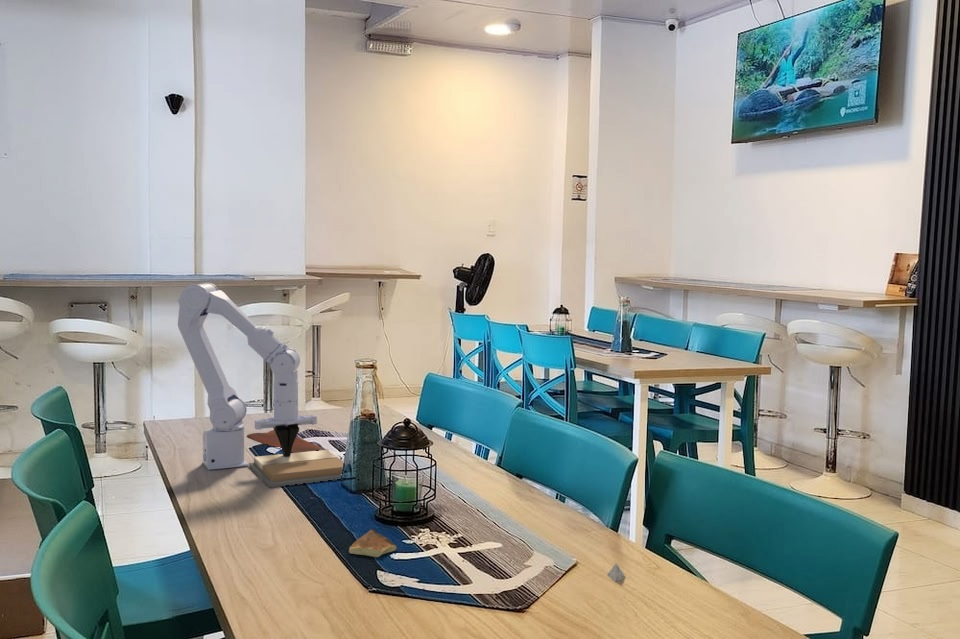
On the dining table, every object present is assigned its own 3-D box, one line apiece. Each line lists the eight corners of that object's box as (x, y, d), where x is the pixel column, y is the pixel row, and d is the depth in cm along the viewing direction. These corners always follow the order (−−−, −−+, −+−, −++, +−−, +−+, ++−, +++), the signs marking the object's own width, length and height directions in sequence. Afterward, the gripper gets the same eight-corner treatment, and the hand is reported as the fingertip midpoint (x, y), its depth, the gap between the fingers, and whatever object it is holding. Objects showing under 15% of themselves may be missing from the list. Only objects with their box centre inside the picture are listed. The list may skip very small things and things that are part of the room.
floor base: (269, 487, 194) (269, 477, 193) (249, 466, 210) (249, 456, 210) (355, 477, 203) (355, 467, 203) (330, 458, 220) (330, 448, 219)
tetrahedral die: (613, 579, 150) (609, 561, 150) (626, 578, 148) (622, 560, 148) (601, 585, 147) (597, 566, 148) (614, 584, 145) (610, 565, 146)
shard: (371, 536, 166) (371, 526, 166) (409, 540, 164) (409, 531, 164) (347, 555, 156) (347, 545, 156) (387, 561, 154) (387, 551, 153)
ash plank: (262, 471, 203) (262, 464, 203) (254, 463, 210) (254, 456, 210) (337, 463, 211) (337, 457, 211) (326, 455, 219) (326, 449, 218)
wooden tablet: (244, 438, 241) (243, 432, 241) (276, 433, 248) (276, 427, 248) (294, 458, 222) (294, 451, 221) (328, 451, 228) (328, 445, 228)
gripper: (259, 405, 203) (260, 463, 205) (320, 400, 210) (320, 456, 211) (252, 400, 210) (253, 456, 211) (311, 395, 216) (312, 449, 218)
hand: (286, 455), depth 212 cm, fingers closed, pressing on ash plank
